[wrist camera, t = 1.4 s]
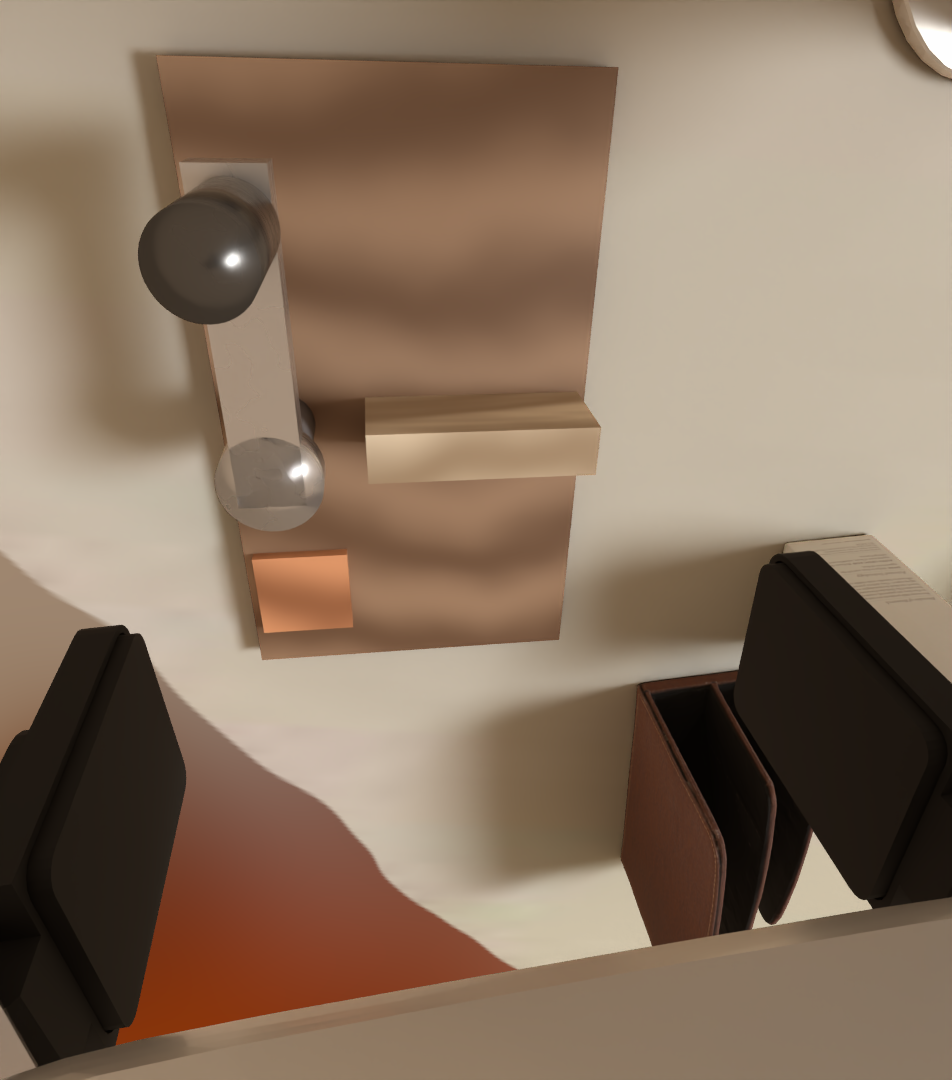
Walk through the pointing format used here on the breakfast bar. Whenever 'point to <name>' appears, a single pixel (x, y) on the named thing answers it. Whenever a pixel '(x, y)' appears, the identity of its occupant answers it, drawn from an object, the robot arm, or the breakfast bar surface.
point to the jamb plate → (421, 334)
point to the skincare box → (891, 593)
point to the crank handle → (240, 332)
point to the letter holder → (705, 815)
